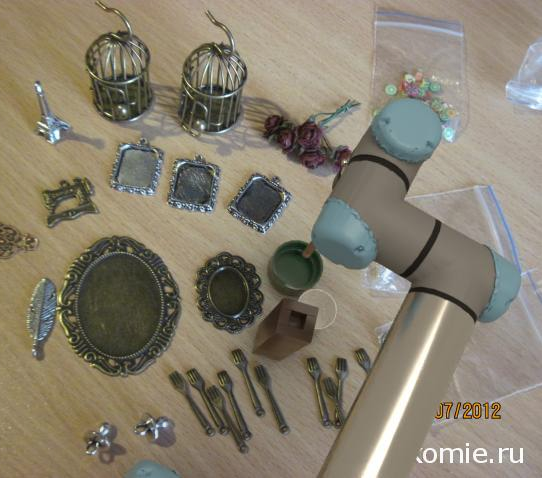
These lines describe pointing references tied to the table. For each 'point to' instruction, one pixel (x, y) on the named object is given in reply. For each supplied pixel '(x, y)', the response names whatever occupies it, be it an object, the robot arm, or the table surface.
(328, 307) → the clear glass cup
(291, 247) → the bowl
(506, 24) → the table surface
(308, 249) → the stick
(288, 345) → the stand
